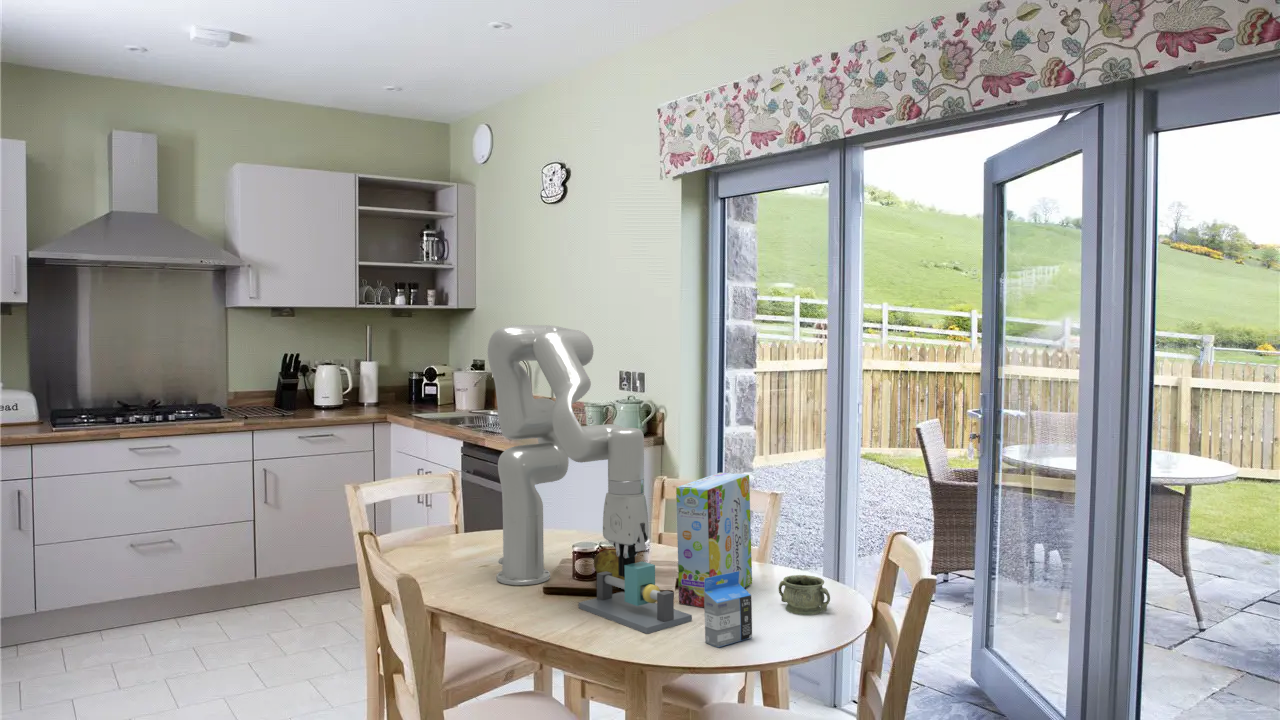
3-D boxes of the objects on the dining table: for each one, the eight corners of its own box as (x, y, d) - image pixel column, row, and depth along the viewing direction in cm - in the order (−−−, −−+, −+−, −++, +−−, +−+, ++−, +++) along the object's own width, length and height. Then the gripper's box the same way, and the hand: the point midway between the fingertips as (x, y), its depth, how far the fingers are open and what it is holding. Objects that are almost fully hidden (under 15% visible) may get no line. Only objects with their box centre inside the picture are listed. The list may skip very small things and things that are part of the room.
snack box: (719, 580, 213) (719, 471, 212) (753, 585, 208) (753, 474, 207) (674, 604, 194) (674, 484, 193) (711, 610, 190) (711, 488, 189)
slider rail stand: (578, 608, 191) (578, 573, 191) (622, 597, 199) (622, 564, 199) (647, 633, 175) (646, 596, 174) (691, 620, 182) (691, 584, 182)
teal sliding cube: (624, 601, 185) (624, 565, 185) (642, 597, 188) (642, 561, 188) (637, 606, 182) (637, 569, 182) (655, 601, 185) (655, 565, 185)
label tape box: (717, 648, 166) (717, 582, 166) (703, 642, 170) (703, 577, 169) (752, 639, 172) (752, 574, 171) (738, 633, 175) (738, 570, 174)
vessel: (768, 609, 190) (768, 579, 190) (788, 599, 197) (788, 571, 197) (820, 620, 183) (820, 589, 183) (839, 609, 190) (839, 580, 190)
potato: (625, 595, 200) (625, 560, 200) (588, 584, 209) (587, 550, 209) (652, 588, 206) (652, 553, 206) (614, 577, 215) (614, 544, 215)
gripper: (589, 485, 191) (590, 571, 191) (635, 494, 180) (636, 586, 180) (617, 481, 196) (617, 565, 196) (663, 489, 185) (664, 579, 185)
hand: (626, 575), depth 188 cm, fingers closed
